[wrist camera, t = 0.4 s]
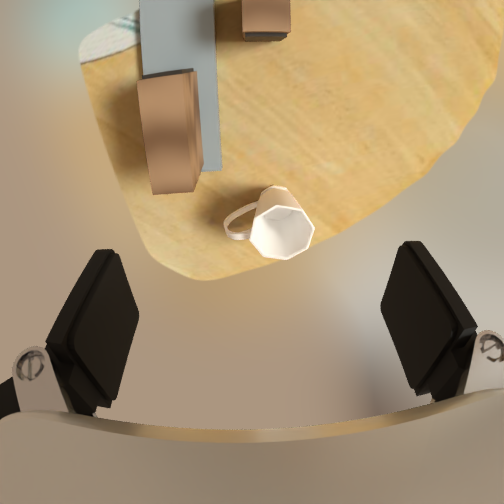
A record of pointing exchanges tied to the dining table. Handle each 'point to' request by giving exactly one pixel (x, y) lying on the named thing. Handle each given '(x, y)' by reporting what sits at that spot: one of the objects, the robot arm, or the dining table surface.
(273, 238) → the cup
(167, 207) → the dining table surface
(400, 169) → the dining table surface
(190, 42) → the rail
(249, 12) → the brown rectangular block
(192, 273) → the dining table surface
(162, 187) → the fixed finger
